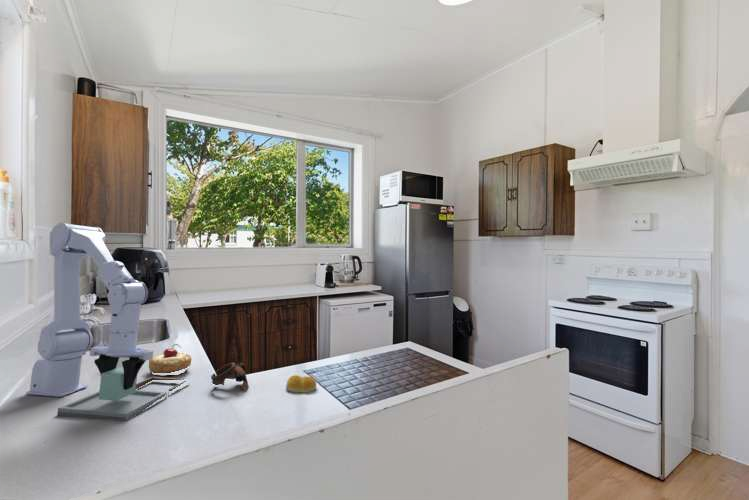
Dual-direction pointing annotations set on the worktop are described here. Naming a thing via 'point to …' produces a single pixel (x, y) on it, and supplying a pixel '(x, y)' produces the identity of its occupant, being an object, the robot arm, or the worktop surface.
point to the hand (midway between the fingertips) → (118, 387)
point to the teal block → (114, 385)
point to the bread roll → (300, 384)
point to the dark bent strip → (158, 379)
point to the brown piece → (231, 374)
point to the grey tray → (111, 406)
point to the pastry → (169, 361)
